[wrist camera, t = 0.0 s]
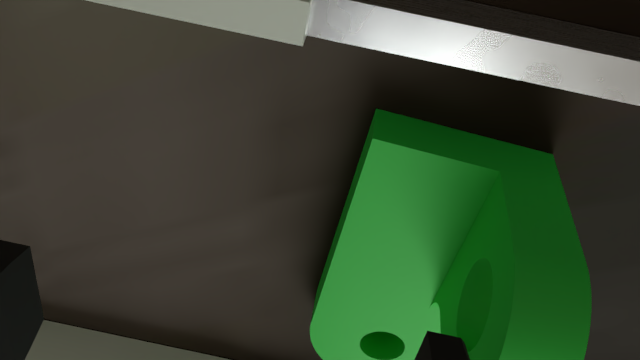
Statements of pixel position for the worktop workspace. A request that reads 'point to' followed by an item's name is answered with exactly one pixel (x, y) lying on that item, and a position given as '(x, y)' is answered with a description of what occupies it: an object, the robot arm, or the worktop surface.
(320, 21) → the slot rails
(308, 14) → the tray
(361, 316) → the mechanical part
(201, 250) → the worktop surface
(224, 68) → the worktop surface
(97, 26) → the worktop surface
